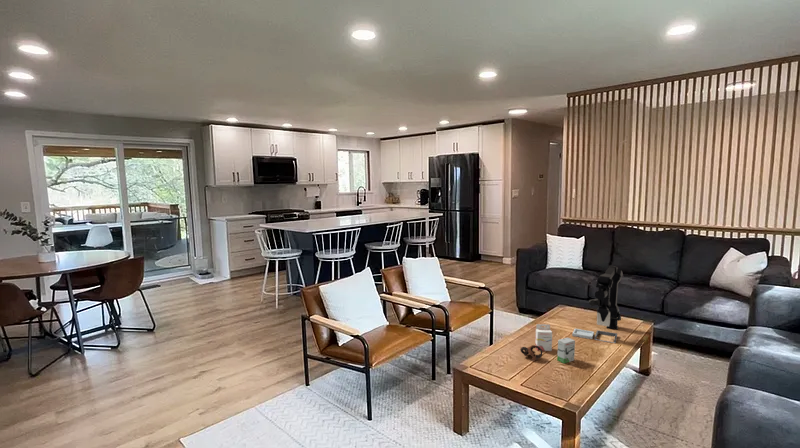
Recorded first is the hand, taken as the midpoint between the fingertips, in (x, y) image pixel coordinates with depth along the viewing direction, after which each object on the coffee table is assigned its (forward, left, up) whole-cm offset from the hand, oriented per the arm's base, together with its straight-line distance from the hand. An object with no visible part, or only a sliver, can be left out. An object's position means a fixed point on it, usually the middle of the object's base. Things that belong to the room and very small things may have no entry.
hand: (603, 320), depth 253 cm
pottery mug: (+49, -32, -12) cm, 60 cm away
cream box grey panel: (0, 0, -3) cm, 3 cm away
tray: (0, -11, -12) cm, 16 cm away
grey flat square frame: (-2, +2, -12) cm, 12 cm away
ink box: (+44, -14, -12) cm, 47 cm away
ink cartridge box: (+35, -28, -12) cm, 46 cm away
